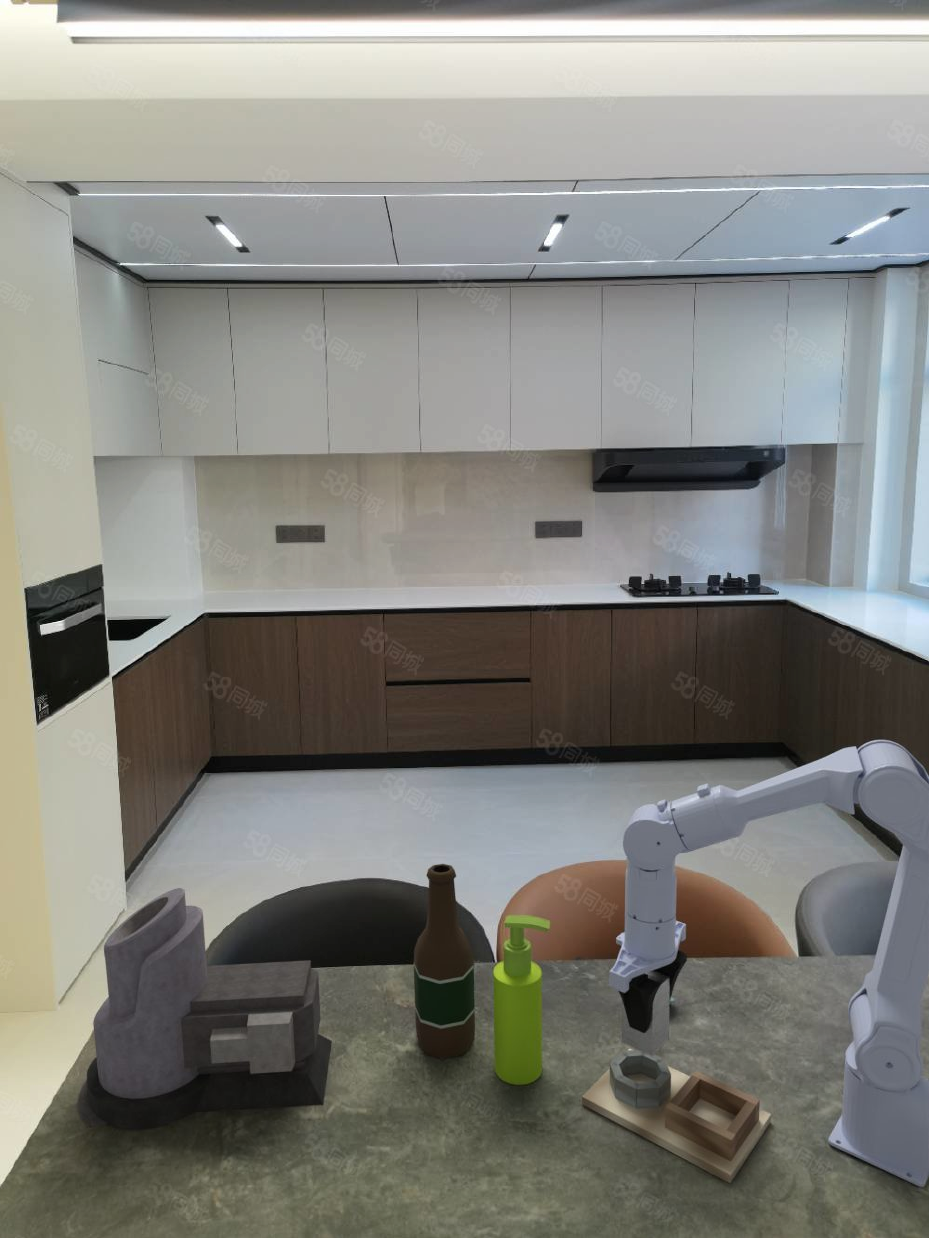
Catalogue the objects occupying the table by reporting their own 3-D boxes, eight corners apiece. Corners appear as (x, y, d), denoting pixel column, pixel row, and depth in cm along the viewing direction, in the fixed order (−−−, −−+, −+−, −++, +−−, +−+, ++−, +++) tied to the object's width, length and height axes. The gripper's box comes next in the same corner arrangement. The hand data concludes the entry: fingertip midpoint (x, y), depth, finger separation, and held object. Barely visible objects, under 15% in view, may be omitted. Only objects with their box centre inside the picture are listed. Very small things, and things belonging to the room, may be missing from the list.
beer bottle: (477, 1023, 115) (474, 855, 111) (472, 1062, 107) (469, 883, 103) (420, 1021, 116) (415, 854, 112) (411, 1059, 108) (405, 881, 104)
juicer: (54, 1136, 96) (33, 935, 92) (104, 1044, 112) (87, 869, 108) (322, 1119, 98) (311, 921, 94) (334, 1031, 114) (325, 858, 110)
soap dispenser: (547, 1088, 102) (547, 934, 99) (491, 1081, 104) (488, 928, 100) (552, 1056, 108) (552, 909, 105) (498, 1050, 109) (496, 904, 106)
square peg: (668, 1038, 101) (669, 976, 100) (652, 1056, 98) (652, 992, 97) (638, 1025, 103) (639, 964, 102) (621, 1042, 100) (622, 979, 99)
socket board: (770, 1121, 96) (771, 1094, 96) (730, 1183, 88) (731, 1153, 87) (629, 1055, 108) (629, 1030, 107) (582, 1104, 100) (582, 1077, 99)
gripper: (649, 877, 106) (647, 978, 108) (586, 924, 95) (585, 1035, 97) (703, 895, 101) (700, 999, 103) (642, 946, 90) (640, 1061, 93)
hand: (648, 1018), depth 100 cm, fingers closed on square peg, 4 cm apart
